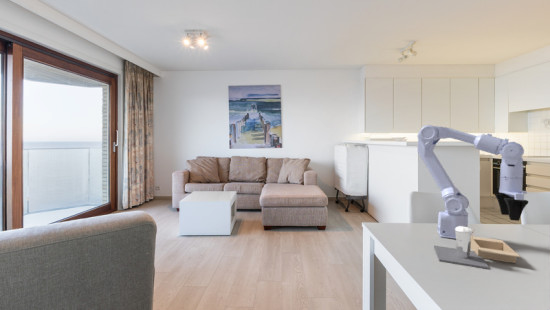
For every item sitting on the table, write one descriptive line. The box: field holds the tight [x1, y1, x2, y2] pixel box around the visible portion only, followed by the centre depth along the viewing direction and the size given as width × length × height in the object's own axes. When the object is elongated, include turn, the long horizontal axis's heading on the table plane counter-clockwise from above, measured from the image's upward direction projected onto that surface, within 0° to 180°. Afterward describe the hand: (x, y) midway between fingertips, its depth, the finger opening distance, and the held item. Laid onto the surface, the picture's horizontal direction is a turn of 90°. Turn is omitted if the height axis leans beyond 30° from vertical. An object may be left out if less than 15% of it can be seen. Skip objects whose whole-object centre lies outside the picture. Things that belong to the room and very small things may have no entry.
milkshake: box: [455, 226, 477, 258], centre depth 81 cm, size 4×5×10 cm
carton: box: [470, 236, 521, 264], centre depth 84 cm, size 9×14×3 cm, turn 156°
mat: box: [433, 245, 490, 270], centre depth 82 cm, size 12×12×1 cm
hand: (509, 217), depth 90 cm, fingers open, 7 cm apart
